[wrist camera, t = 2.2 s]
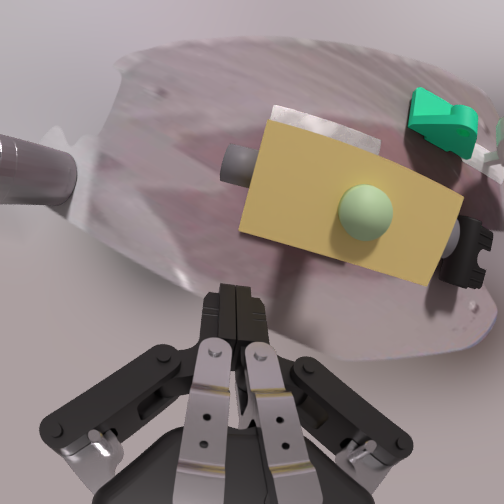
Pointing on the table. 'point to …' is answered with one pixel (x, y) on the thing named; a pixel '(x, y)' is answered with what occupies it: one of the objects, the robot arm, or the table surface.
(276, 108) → the grey metal base plate
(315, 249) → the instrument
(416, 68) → the table surface
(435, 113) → the camera mount
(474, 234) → the end cap
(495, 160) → the heart sculpture
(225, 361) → the robot arm
